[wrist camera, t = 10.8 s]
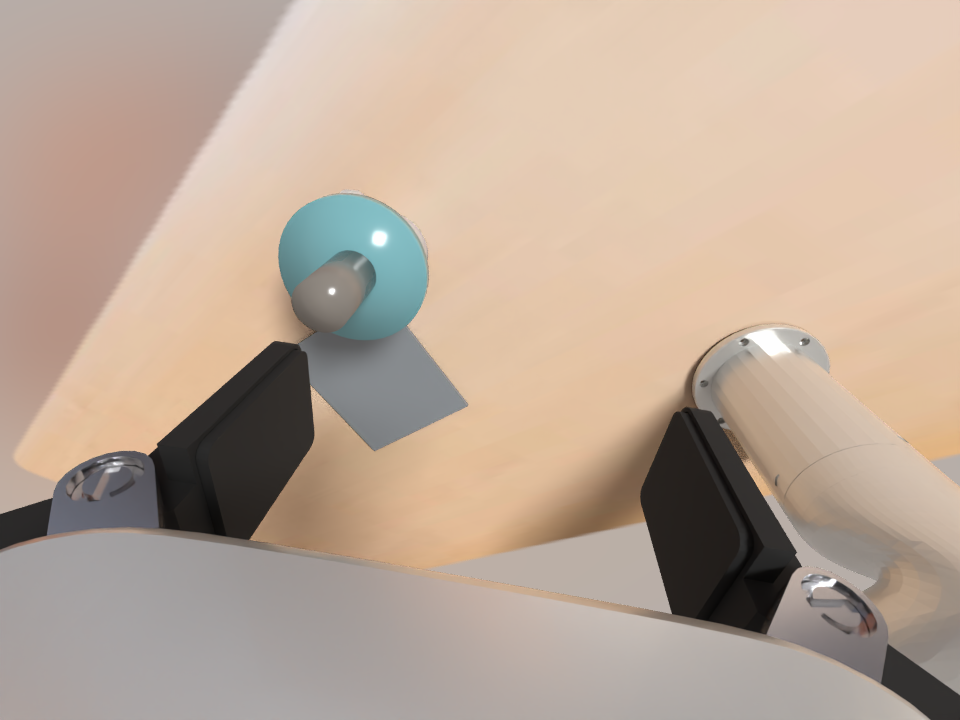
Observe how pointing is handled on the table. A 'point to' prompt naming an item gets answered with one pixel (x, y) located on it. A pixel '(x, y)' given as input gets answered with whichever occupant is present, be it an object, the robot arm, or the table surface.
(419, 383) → the mat
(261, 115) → the table surface
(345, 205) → the lid
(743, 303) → the table surface
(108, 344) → the table surface
